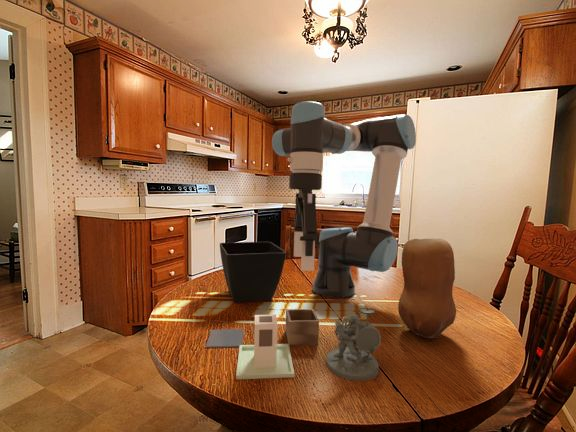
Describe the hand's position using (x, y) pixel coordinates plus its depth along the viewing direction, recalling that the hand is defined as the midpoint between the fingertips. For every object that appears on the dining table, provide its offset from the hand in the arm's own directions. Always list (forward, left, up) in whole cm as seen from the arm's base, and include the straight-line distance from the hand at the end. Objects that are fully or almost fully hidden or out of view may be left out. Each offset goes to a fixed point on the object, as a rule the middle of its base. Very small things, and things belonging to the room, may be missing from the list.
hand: (302, 262), depth 70 cm
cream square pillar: (+9, +10, -18) cm, 23 cm away
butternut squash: (-32, 0, -19) cm, 37 cm away
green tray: (+9, +10, -19) cm, 23 cm away
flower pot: (+13, -30, -19) cm, 38 cm away
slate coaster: (+18, 0, -19) cm, 26 cm away
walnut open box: (0, 0, -19) cm, 19 cm away
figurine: (-9, +12, -19) cm, 24 cm away
